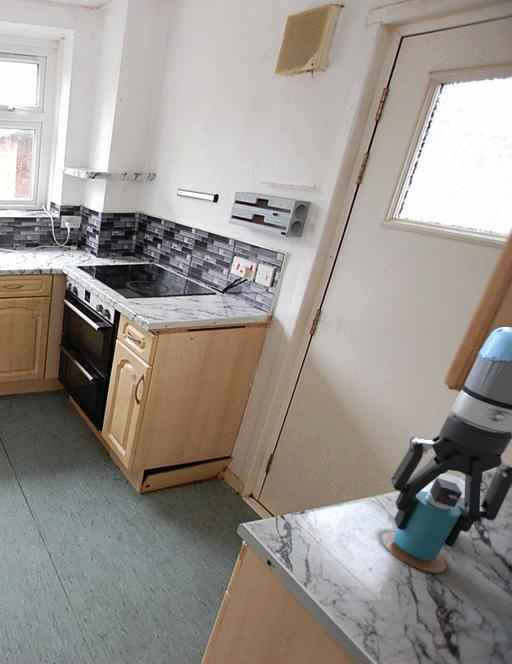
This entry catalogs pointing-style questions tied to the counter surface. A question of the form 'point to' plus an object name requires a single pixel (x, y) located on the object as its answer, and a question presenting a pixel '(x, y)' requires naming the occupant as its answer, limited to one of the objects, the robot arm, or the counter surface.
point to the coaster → (424, 565)
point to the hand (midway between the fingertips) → (422, 532)
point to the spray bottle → (430, 521)
